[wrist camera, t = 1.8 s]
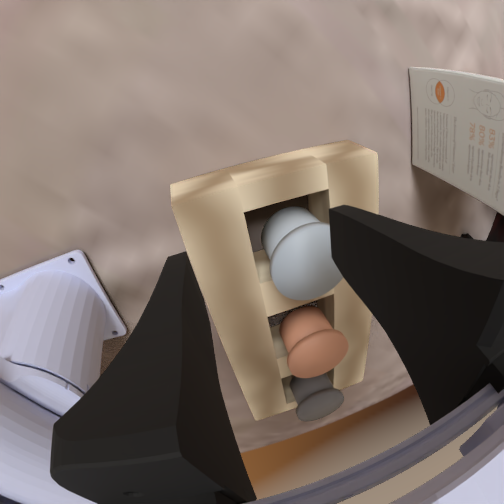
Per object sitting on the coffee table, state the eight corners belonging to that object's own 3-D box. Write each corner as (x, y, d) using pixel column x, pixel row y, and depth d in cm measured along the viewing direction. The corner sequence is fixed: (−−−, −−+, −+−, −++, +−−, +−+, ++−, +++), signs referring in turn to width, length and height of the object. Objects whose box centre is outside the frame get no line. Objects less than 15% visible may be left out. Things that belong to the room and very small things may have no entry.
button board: (247, 394, 32) (255, 420, 29) (170, 184, 18) (171, 206, 15) (348, 357, 33) (362, 380, 30) (348, 139, 20) (377, 153, 17)
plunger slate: (261, 274, 20) (279, 310, 17) (247, 211, 17) (266, 242, 14) (325, 253, 20) (351, 284, 17) (320, 191, 18) (351, 217, 15)
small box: (458, 156, 23) (574, 222, 12) (409, 165, 22) (542, 247, 11) (458, 68, 18) (593, 108, 8) (406, 64, 18) (568, 101, 7)
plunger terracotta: (278, 351, 24) (292, 385, 21) (270, 313, 22) (286, 350, 19) (328, 332, 25) (347, 363, 22) (327, 293, 22) (349, 326, 19)
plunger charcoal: (287, 397, 29) (299, 426, 26) (282, 375, 26) (296, 406, 23) (328, 382, 29) (342, 409, 26) (328, 358, 27) (345, 387, 24)
